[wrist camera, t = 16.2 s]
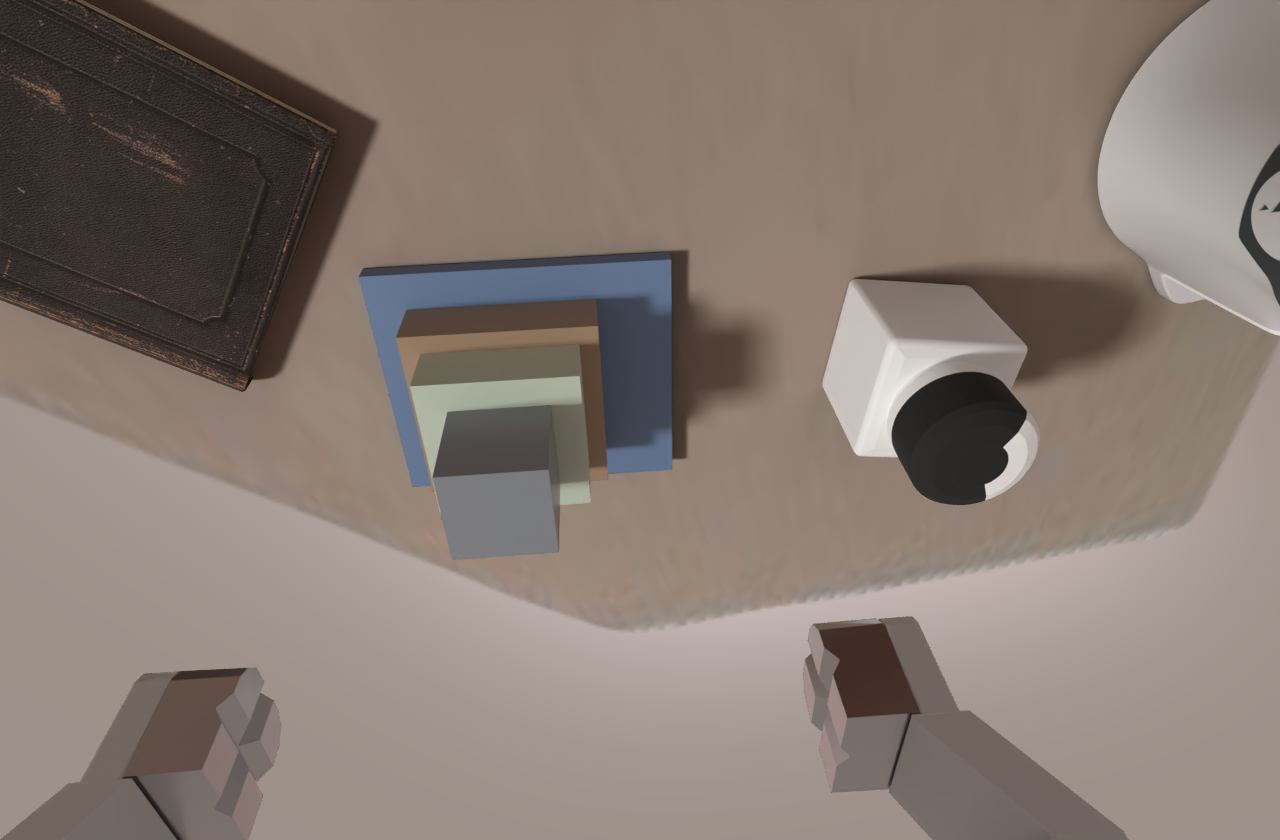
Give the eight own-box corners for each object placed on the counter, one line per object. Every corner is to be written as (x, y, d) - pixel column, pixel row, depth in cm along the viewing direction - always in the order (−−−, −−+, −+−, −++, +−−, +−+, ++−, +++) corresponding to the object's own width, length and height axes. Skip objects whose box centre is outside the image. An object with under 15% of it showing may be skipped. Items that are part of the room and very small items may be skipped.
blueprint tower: (669, 251, 41) (685, 313, 36) (670, 459, 49) (683, 537, 44) (362, 268, 41) (328, 334, 35) (415, 476, 49) (394, 557, 43)
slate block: (550, 404, 38) (548, 469, 34) (560, 483, 41) (558, 552, 37) (447, 411, 38) (432, 477, 34) (464, 490, 41) (452, 560, 37)
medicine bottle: (819, 385, 47) (884, 522, 37) (848, 276, 43) (930, 397, 33) (932, 390, 48) (1024, 525, 38) (971, 283, 44) (1086, 403, 34)
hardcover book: (-262, -194, 29) (-320, -198, 27) (348, 123, 37) (336, 136, 35) (-251, 179, 37) (-295, 196, 35) (254, 375, 44) (240, 398, 43)
